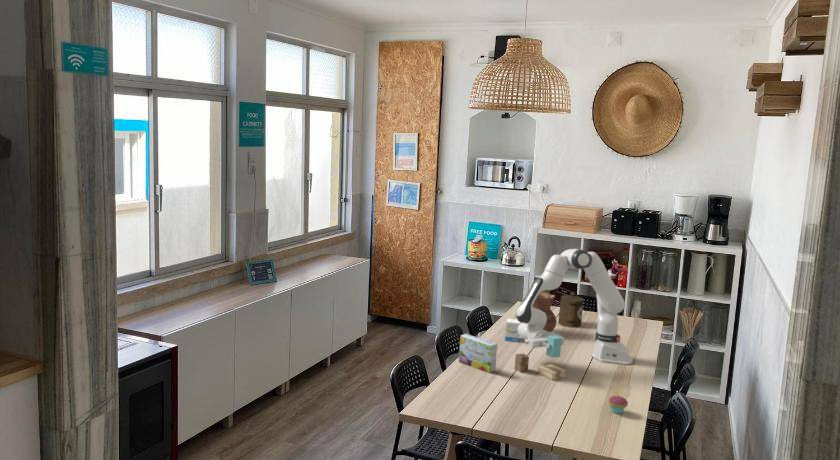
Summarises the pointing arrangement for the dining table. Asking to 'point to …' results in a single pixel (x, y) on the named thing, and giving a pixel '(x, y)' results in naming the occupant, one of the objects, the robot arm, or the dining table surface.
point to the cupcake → (617, 403)
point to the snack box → (478, 353)
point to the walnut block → (521, 362)
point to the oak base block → (552, 372)
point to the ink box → (512, 330)
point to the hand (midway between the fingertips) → (555, 345)
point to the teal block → (554, 346)
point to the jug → (546, 309)
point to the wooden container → (570, 310)
